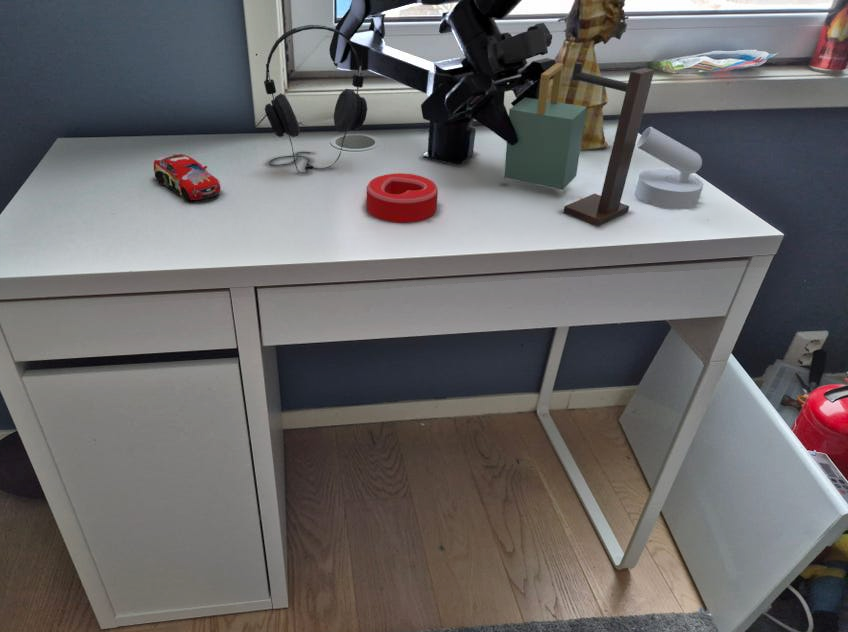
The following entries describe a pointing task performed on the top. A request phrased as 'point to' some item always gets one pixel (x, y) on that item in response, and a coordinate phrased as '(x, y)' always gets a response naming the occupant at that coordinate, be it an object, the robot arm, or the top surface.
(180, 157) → the race car
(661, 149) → the grey spotlight lamp
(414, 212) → the decorative ornament
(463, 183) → the top surface
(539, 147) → the tote bag
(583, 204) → the hook stand
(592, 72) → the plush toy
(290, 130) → the headphones
